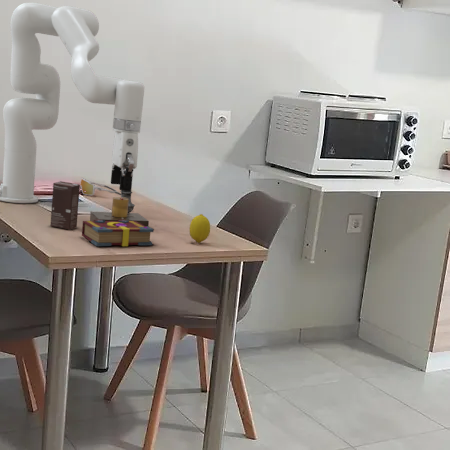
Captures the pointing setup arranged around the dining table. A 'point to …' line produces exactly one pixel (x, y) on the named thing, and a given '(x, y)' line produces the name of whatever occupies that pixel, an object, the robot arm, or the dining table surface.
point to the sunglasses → (91, 188)
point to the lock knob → (120, 207)
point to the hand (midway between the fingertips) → (120, 187)
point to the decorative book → (116, 233)
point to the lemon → (199, 228)
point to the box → (65, 205)
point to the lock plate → (108, 217)
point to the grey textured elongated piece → (128, 195)
